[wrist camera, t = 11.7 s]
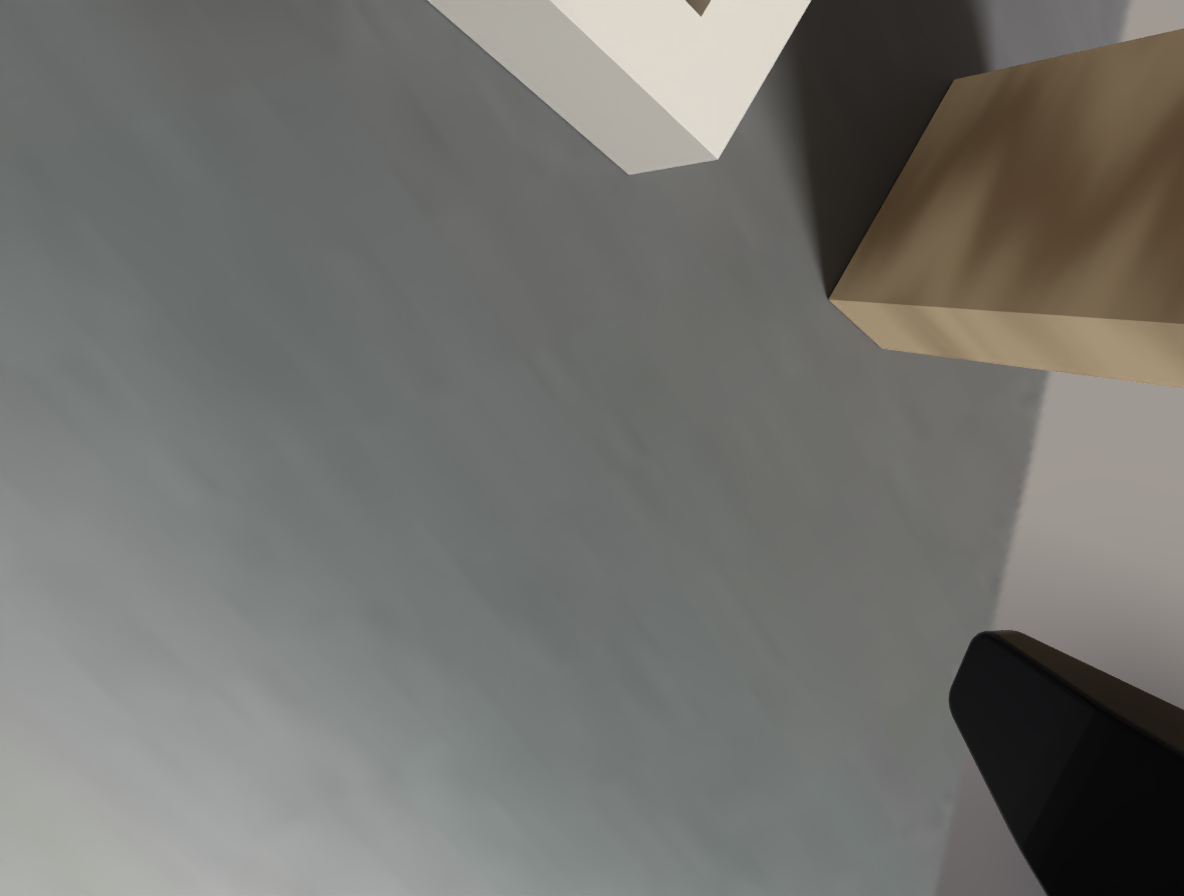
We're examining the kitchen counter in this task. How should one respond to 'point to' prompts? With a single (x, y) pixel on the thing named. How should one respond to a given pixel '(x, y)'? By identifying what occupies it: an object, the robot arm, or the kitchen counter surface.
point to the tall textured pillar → (1040, 221)
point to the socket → (637, 66)
